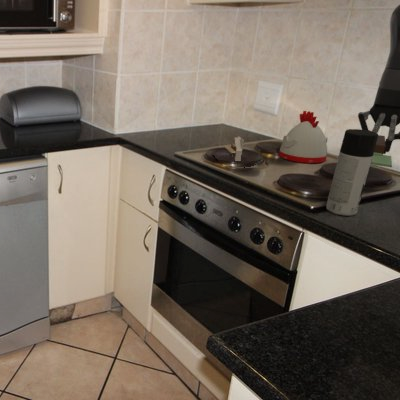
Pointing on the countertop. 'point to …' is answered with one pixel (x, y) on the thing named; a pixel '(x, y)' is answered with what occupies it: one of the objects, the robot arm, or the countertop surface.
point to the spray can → (351, 171)
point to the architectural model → (238, 151)
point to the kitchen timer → (305, 141)
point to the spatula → (381, 154)
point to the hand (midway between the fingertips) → (377, 152)
